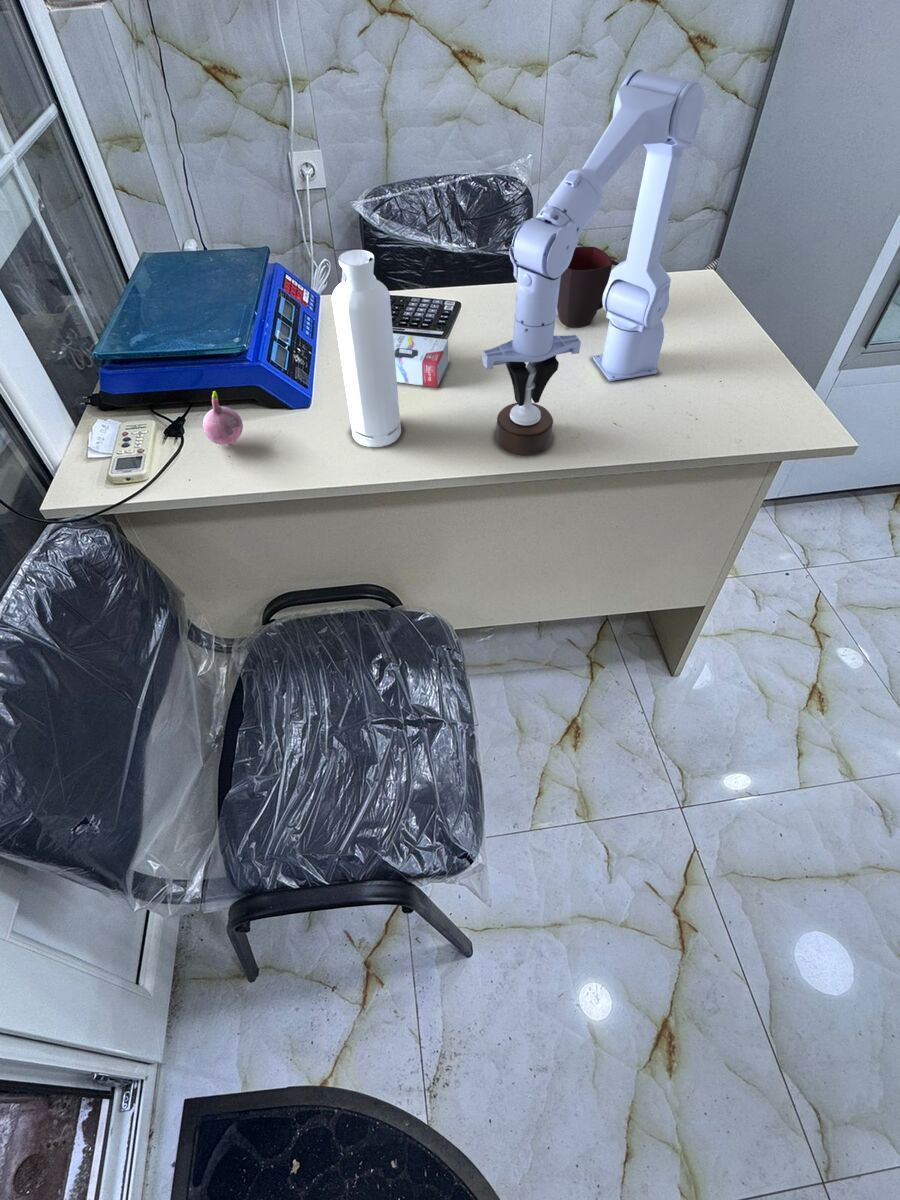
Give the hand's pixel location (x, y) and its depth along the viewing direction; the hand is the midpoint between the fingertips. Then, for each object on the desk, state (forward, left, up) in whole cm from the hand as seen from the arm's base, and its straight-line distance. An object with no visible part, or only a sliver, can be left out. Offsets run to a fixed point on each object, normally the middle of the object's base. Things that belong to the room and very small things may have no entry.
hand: (526, 400), depth 100 cm
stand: (0, 0, -7) cm, 7 cm away
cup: (-24, -33, -7) cm, 41 cm away
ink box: (+8, -21, -5) cm, 23 cm away
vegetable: (+47, -11, -7) cm, 49 cm away
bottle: (+23, -8, -7) cm, 25 cm away
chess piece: (0, 0, -3) cm, 3 cm away
